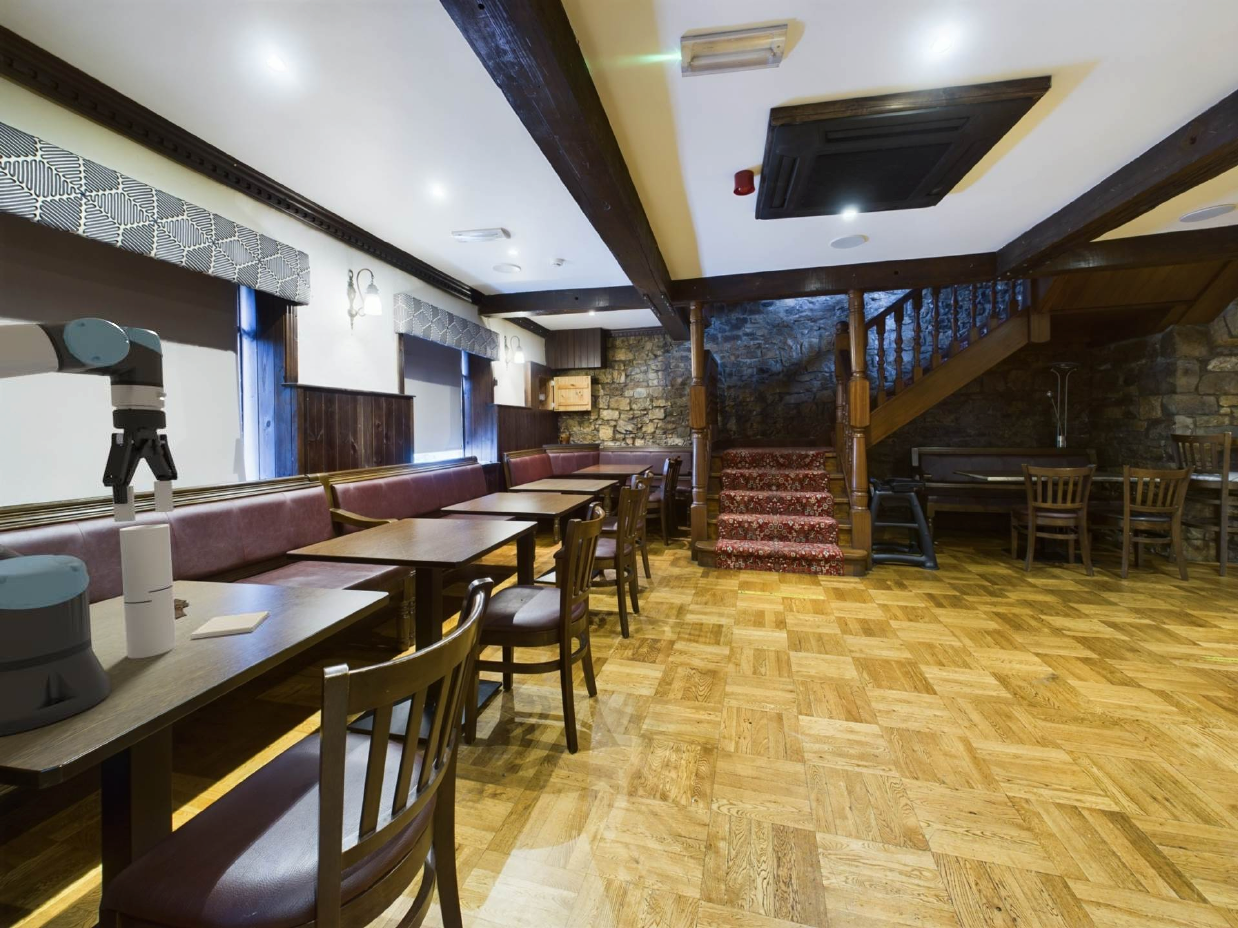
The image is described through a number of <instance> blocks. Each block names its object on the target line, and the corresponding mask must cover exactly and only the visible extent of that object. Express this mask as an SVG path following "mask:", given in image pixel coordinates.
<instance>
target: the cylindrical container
mask: <svg viewBox="0 0 1238 928" xmlns="http://www.w3.org/2000/svg"><path fill="white" fill-rule="evenodd" d="M119 542H120V545H119V546H120V556H121V557H120V560H121V575H122V592H123V602H124V603H123V608H124V621H125V638H126V656H127V658H129V659H143V658H149V657H155V656H158V655H162V654H164V653H167V652H169V651H171V650H173V649H175V648H176V647H177V636H176V619H175V614H174V599H175V598H174V597H175V596H174V585H173V584H174V582H173V565H172V563H173V562H172V550H171V549H172V548H171V547H172V546H171V545H172V544H171V528H170V524H169V523H168V524H167V523H157V524H144V525H134V526H128V527H124V528H119Z"/></svg>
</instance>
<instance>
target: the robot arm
mask: <svg viewBox="0 0 1238 928" xmlns="http://www.w3.org/2000/svg"><path fill="white" fill-rule="evenodd" d="M163 357H164V354H163V348H162V343H161V338H160V336H159V335H158V334H157V333H156V332H155V331H152V330H148V329H144V328H138V327H128V326H118V325H116V324H115V323H113V322H110V321H108V320H105V319H102V318H97V317H87V318H86V317H82V318H81V317H80V318H75V319H73V320H70V321H69V320H68V321H57V322H55V321H54V322H53V321H52V322H41V323H18V324H4V325H0V379H8V378H9V379H10V378H16V377H24V376H33V375H40V374H48V373H57V374H59V373H60V374H73V375H89V376H99V377H109V379H110V382H109V383H110V402H111V406H112V407H114V408H115V409H113V411H111V412H112V413H111V414H112V426H113V428H114V429H117V430H123V432H112V433H111V434H110V435H111V437H110V439H111V440H110V441H111V442H110V444H111V445H110V448H109V453H108V457H107V460H106V464H105V468H104V472H103V477H102V481H101V483H102V484H103V486H104V487H105V488H109V487H110V488H111V487H112V488H111V489H112V503H113V517H114V519H113V520H114V523H120V522H121V523H122V522H124V523H125V522H134V521H136V520H137V519H136V506H135V505H136V503H135V493H134V491H135V488H134V485H131V482H132V480H133V477H134V476H135V473H136V470H137V468H138V465H139V463H140V460H141V459H144V460H145V462H146V463H147V465H148V467H149V469H150V470H151V472H152V474H153V476H154V477H155V479H156V481H153V489H154V491H153V492H154V494H153V495H154V507H155V508H154V509H155V513H167V512H168V513H171V512H174V499H173V497H174V496H173V481H178V471H177V468H176V465H175V461H174V459H173V455H172V452H171V450H170V447H169V442H168V441H169V439H168V435H167V434H166V433H158V430H164V429H166V428H167V416H166V412H165V411H164V410H162V409H163V408H165V407H166V405H165V398H166V397H167V393H166V392H165V391H164V390H165V388H164V371H163V369H164V367H163V364H164V363H163V362H164V361H163ZM87 570H88V569H87V565H86V563H85V562H84V561H83V560H82V559H80V558H78V557H75V556H72V555H65V554H64V555H63V554H60V555H55V554H39V555H27V556H24V555H22V554H21V553H19V552H18V551H14V550H13V549H11V548H9V547H6V546H5V545H3V544H0V737H1V736H8V735H12V734H16V733H22V732H26V731H28V730H32V729H33V730H34V729H37V728H40V727H43V726H47V725H50V724H53V723H55V722H56V723H57V722H59V721H63V720H65V719H67V718H70V717H72V716H75V715H77V714H80V713H83V712H84V711H86V710H88V709H90V708H93V706H96V705H97V704H99V703H101V702H102V701H104V700H105V699H106V698H107V697H109V695H110V694H111V684H110V676H109V675H108V674H107V672H106V669H104V666H103V665H102V663H101V662H100V659H99V658H98V656H97V655H96V653H95V651H94V650H93V649H94V648H93V644H92V628H91V626H92V625H91V610H90V595H89V594H90V593H89V583H90V575H89V574H88V571H87Z"/></svg>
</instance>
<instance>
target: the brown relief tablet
mask: <svg viewBox="0 0 1238 928" xmlns="http://www.w3.org/2000/svg"><path fill="white" fill-rule="evenodd" d="M189 604H190V602H187V600H186V599H180V598H174V614H175V620H177V619H181V618H183V617H185V616H187V614H186V613H185V612H184V608H186V607H187V606H188V605H189ZM189 606H190V605H189Z"/></svg>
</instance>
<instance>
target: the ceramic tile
mask: <svg viewBox="0 0 1238 928" xmlns="http://www.w3.org/2000/svg"><path fill="white" fill-rule="evenodd" d="M268 617H270V610H268V611H266V610H265V611H259V612H258V611H257V612H250V613H241V614H232V615H231V614H230V615H223V616H220V615H219V616H213V617H212V618H211V619H209V620H208V621H206V623H204V624H203V625H201V626H200V627H198V628H196V630H195V631H193V632H191V634H190V640H194V639H202V638H210V637H218V636H225V635H227V636H228V635H236V634H244V633H250V632H251V633H252V632H254V630H256V629H257V628H258V626H260V625H261V624H262V623H264V622H265V620H266V619H267V618H268Z"/></svg>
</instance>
